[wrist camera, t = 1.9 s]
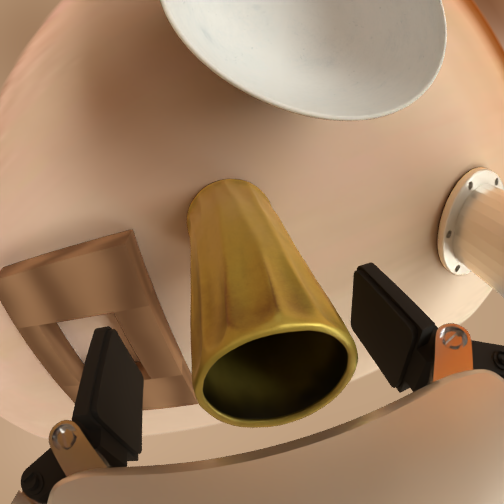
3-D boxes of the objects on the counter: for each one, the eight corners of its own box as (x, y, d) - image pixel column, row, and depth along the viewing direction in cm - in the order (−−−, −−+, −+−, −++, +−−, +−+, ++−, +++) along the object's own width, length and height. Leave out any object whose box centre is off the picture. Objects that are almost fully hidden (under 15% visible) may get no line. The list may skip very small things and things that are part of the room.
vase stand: (132, 229, 20) (125, 244, 17) (196, 385, 28) (198, 403, 26) (3, 267, 18) (-10, 281, 16) (87, 396, 27) (83, 412, 25)
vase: (229, 272, 22) (269, 445, 10) (169, 222, 20) (137, 396, 7) (288, 218, 21) (397, 361, 9) (230, 159, 19) (298, 261, 6)
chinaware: (404, 25, 15) (471, 11, 8) (312, 158, 20) (369, 184, 13) (252, -80, 10) (276, -134, 3) (127, 51, 14) (86, 17, 7)
